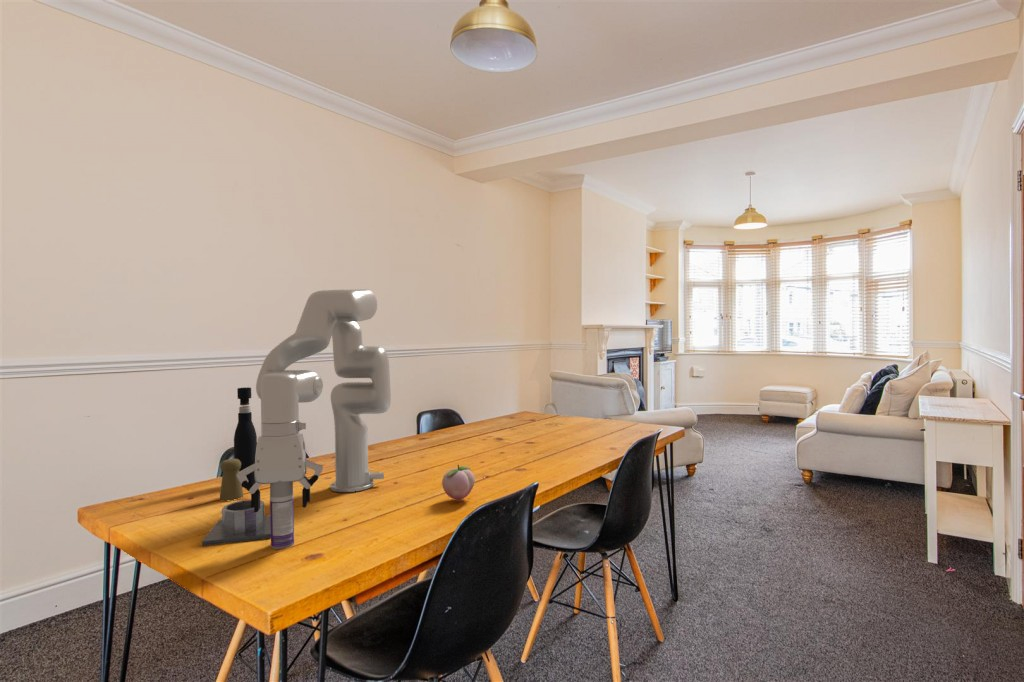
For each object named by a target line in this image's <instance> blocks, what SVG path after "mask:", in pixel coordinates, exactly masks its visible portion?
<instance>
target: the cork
mask: <svg viewBox="0 0 1024 682" xmlns="http://www.w3.org/2000/svg"><path fill="white" fill-rule="evenodd" d="M240 468H241V462H240V460H238V459H234V458H229V459H225V460H222V461H221V463H220V470H221V472H222V475H221V476H222V478H221V483H220V492H219V501H220V500H233V501H235V500H234V499H238V498H241V497H242V498H244V492H243V486H242V485H241V482H240V481H239V479H238V478H237V473H238V472H239V469H240ZM242 498H241V499H242ZM238 500H239V499H238Z"/></svg>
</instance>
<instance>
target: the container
mask: <svg viewBox="0 0 1024 682" xmlns="http://www.w3.org/2000/svg"><path fill="white" fill-rule="evenodd" d="M269 491H270V492H269V511H270V512H269V513H270V514H269V515H270V523H271V538H270V548H272V549H275V550H284V549H287V548H290V547H293V545H295V521H294V520H295V519H294V518H295V516H294V515H295V513H294V509H295V508H294V483H293V482H282V481H278V482H276V483H273V484H270V485H269Z"/></svg>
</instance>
